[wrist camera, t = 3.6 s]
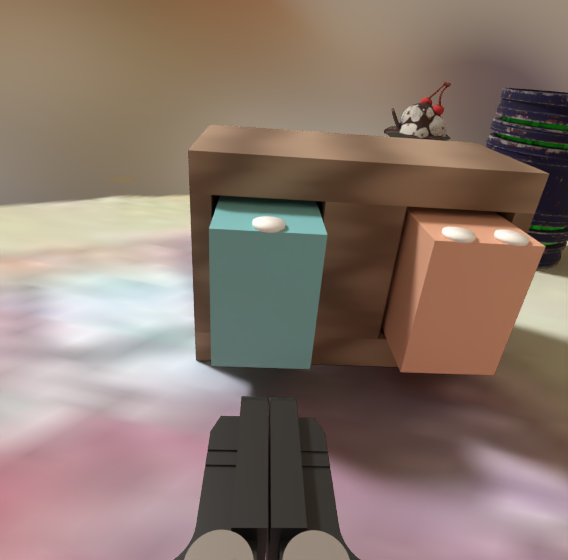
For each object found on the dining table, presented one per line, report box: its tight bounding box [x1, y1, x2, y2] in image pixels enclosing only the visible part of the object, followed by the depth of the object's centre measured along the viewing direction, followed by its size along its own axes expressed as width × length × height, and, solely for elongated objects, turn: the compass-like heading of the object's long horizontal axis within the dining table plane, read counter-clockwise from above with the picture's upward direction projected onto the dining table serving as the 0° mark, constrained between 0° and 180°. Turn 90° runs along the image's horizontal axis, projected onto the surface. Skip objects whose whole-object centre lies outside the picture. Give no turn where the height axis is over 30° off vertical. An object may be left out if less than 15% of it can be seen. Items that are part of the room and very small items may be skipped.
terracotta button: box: [381, 206, 546, 375], centre depth 22 cm, size 5×6×7 cm
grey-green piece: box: [209, 195, 327, 369], centre depth 21 cm, size 5×6×7 cm
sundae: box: [384, 82, 451, 141], centre depth 45 cm, size 7×7×15 cm
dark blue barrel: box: [486, 88, 568, 269], centre depth 40 cm, size 10×10×15 cm
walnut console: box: [188, 125, 549, 367], centre depth 26 cm, size 17×8×12 cm, turn 92°
